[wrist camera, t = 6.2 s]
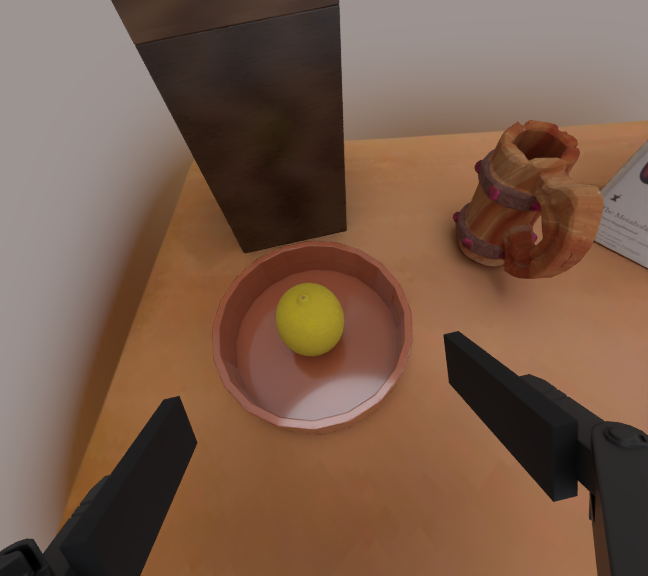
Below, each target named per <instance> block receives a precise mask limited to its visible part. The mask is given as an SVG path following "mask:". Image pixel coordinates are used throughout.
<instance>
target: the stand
mask: <svg viewBox="0 0 648 576" xmlns="http://www.w3.org/2000/svg"><path fill="white" fill-rule="evenodd" d="M135 46H136V48H137V50H138V52H139V54H140V56H141V58H142V60H143V61H144V64H145V66H146V67H147V69H148V71H149V73H150V75H151V77H152V79H153V81H154V82H155V84H156V86H157V88H158V90H159V92H160V94H161V96H162V98H163V100H164V102H165V103H166V105H167V107H168V109H169V111H170V113H171V115H172V117H173V119H174V121H175V123H176V124H177V126H178V128H179V130H180V132H181V134H182V136H183V138H184V140H185V142H186V143H187V145H188V147H189V149H190V151H191V153H192V155H193V157H194V159H195V161H196V163H197V164H198V166H199V168H200V170H201V172H202V174H203V176H204V178H205V180H206V182H207V183H208V185H209V187H210V189H211V191H212V193H213V195H214V197H215V199H216V201H217V203H218V204H219V206H220V208H221V210H222V212H223V214H224V216H225V218H226V220H227V222H228V223H229V225H230V227H231V229H232V231H233V233H234V235H235V237H236V239H237V241H238V242H239V244H240V246H241V248H242V250H243V252H244V253H247V252H252V251H256V250H261V249H265V248H270V247H274V246H279V245H283V244H288V243H292V242H297V241H301V240H306V239H310V238H315V237H319V236H324V235H328V234H333V233H337V232H342V231H346V230H347V226H346V194H345V163H344V133H343V101H342V71H341V39H340V8H339V4H337V5H332V6H327V7H322V8H317V9H312V10H307V11H302V12H297V13H292V14H287V15H282V16H277V17H272V18H267V19H262V20H257V21H252V22H247V23H242V24H237V25H232V26H227V27H222V28H217V29H211V30H206V31H201V32H196V33H191V34H186V35H181V36H176V37H171V38H166V39H161V40H156V41H151V42H146V43H141V44H136V45H135Z"/></svg>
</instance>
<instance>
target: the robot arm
mask: <svg viewBox="0 0 648 576" xmlns="http://www.w3.org/2000/svg"><path fill="white" fill-rule="evenodd" d="M444 343H445V352H446V361H447V369H448V378H449V384H450V385H451V386H452V387H453V388H454V389H455V390H456V391H457V393H458V394H459V395H460V396H461V397H462V398H463V399H464V401H465V402H466V403H467V404H468V405H469V406H470V407H471V409H472V410H473V411H474V412H475V413H476V414H477V415H478V416H479V418H480V419H481V420H482V421H483V422H484V423H485V424H486V426H487V427H488V428H489V429H490V430H491V431H492V432H493V434H494V435H495V436H496V437H497V438H498V439H499V440H500V442H501V443H502V444H503V445H504V446H505V447H506V448H507V449H508V451H509V452H510V453H511V454H512V455H513V456H514V457H515V459H516V460H517V461H518V462H519V463H520V464H521V465H522V467H523V468H524V469H525V470H526V471H527V472H528V473H529V474H530V476H531V477H532V478H533V479H534V480H535V481H536V482H537V484H538V485H539V486H540V487H541V488H542V489H543V490H544V492H545V493H546V494H547V495H548V496H549V497H550V498H551V500H552V501H553V502H555V501H559V500H563V499H567V498H571V497H575V496H577V492H578V481H579V482H580V483H581V484H582V485H583V486H584V487H586V488H587V489H588V490H589V491H590V502H589V519H590V520H592V528H593V537H594V546H595V556H596V565H597V574H598V576H648V435H647V434H645V433H644V432H643V431H641V430H639V429H637V428H635V427H632V426H630V425H626V424H623V423H619V422H610V421H604V420H602V419H601V418H599V417H598V416H596V415H595V414H593V413H592V412H590V411H589V410H588V409H586V408H585V407H583V406H582V405H580V404H579V403H577V402H576V401H574V400H573V399H571V398H570V397H567V396H566V394H564V393H563V392H561V391H560V390H557V389H556V388H555V387H554V386H552V385H551V384H550V383H548V382H547V381H545V380H543V379H541V378H538V377H535V376H533V375H530V374H528V375H523V376H518V375H517V374H515V373H514V372H513V371H511V370H510V369H509V368H507V367H506V366H504V365H503V364H502V363H500V362H499V361H498V360H496V359H495V358H494V357H492V356H491V355H490V354H488V353H487V352H486V351H484V350H483V349H482V348H480V347H479V346H478V345H476V344H475V343H474V342H472V341H471V340H470V339H468V338H467V337H466V336H464V335H463V334H462V333H460V332H459V331H457V332H452V333H448V334H444ZM196 445H197V440H196V438H195V435H194V433H193V430H192V427H191V425H190V422H189V419H188V417H187V414H186V412H185V409H184V406H183V404H182V401H181V399H180V396H177V397H173V398H169V399H164V400H163V401H162V403H161V404H160V406H159V407H158V408H157V410H156V411H155V413H154V414H153V415H152V417H151V418H150V420H149V421H148V422H147V424H146V425H145V427H144V428H143V430H142V431H141V432H140V434H139V435H138V437H137V438H136V439H135V441H134V442H133V444H132V445H131V446H130V448H129V449H128V451H127V452H126V453H125V455H124V456H123V458H122V459H121V461H120V462H119V463H118V465H117V466H116V468H115V469H114V470H113V472H112V473H111V475H108V476H105V477H104V478H103V479H102V480H100V481H99V482H98V483H97V484H96V485H95V486H94V487H93V488H92V489H91V490H90V491H89V492H88V494H87V495H86V497H85V498H84V499H83V501H82V502H81V503H80V506H78V507H77V509H76V510H75V511H74V513H73V514H72V517H71V518H69V519H68V521H67V522H66V523H65V525H64V526H63V528H62V529H61V530H60V532H59V533H58V534H57V536H56V537H55V538H54V540H53V541H52V542H51V544H50V545H49V546H48V548H47V549H46V550H45V552H44V553H43V554H42V552H41V551H40V549H39V547H38V546H37V544H36V542H35V541H34V539H24V540H21V541H18V542H16V543H14V544H12V545H10V546H8V547H6V548H5V549H3V550H2V551H1V552H0V576H140V575H141V572H142V570H143V568H144V565H145V563H146V561H147V558H148V556H149V554H150V552H151V549H152V547H153V545H154V542H155V540H156V538H157V535H158V533H159V531H160V528H161V526H162V524H163V521H164V519H165V517H166V514H167V512H168V510H169V508H170V505H171V503H172V501H173V498H174V496H175V494H176V491H177V489H178V487H179V484H180V482H181V480H182V477H183V475H184V473H185V470H186V468H187V466H188V464H189V461H190V459H191V457H192V454H193V452H194V450H195V447H196Z"/></svg>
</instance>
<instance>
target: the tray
mask: <svg viewBox="0 0 648 576" xmlns="http://www.w3.org/2000/svg"><path fill="white" fill-rule="evenodd" d="M111 1H112V3H113V5H114V7H115V9H116V10H117V12H118V14H119V16H120V18H121V20H122V22H123V24H124V26H125V28H126V29H127V31H128V33H129V35H130V37H131V39H132V41H133V43H134V44H135V45H136V44H141V43H146V42H151V41H156V40H161V39H166V38H171V37H176V36H181V35H186V34H191V33H196V32H201V31H206V30H211V29H217V28H222V27H227V26H232V25H237V24H242V23H247V22H252V21H257V20H262V19H267V18H272V17H277V16H282V15H287V14H292V13H297V12H302V11H307V10H312V9H317V8H322V7H327V6H332V5H337V4H339V0H111Z"/></svg>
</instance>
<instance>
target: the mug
mask: <svg viewBox="0 0 648 576" xmlns="http://www.w3.org/2000/svg"><path fill="white" fill-rule="evenodd" d="M577 145H578V143H577V140H576V139H575V138H574V137H573V136H571V135H569V134H567V132H560V131H559V130H558V126H557V125H555V124H551V123H547V122H540V121H532V120H530V121H528V122H526V123H525V125H523V126H522V125H521V124H520V123H519V122H517V123H515V124H514V125H512V126H511V127H509V128H508V129H507V130H506V131H505V132H504V133H503V135H502V136H501V138H500V140H499V142H498V144H497V146H496V148H495V149H494V150H492V151H491V152H490V153H489V154H488V155H487V156H486V157H485V158H484V159H483V160H480V161H478V162H477V163H476V165H475V171H476V172H477V173H478V179H479V184H478V186H477V189H476V191H475V194H474V196H473V198H472V201H471V202H470V203H468V204H467V205H465V206H464V207H463V209H462V210H461V211H460V212H456V213H455V214H454V216H453V219H454V221H455V222H456V232H457V235H458V237H459V241H458V243H459V246H460V248H461V250H462V251H463V253H464V254H465V255H466V256H467V257H469V258H470V259H473V260H475V261H476V262H478V263H481V264H483V265H486V266H499V265H504V271H506V272H507V273H509V274H510V275H512V276H515V277H517V278H525V279H535V278H549V277H554V276H556V275H558V274H561V273H563V272H565V271H567V270H569V269H570V268H572V267H573V266H574V265H575V264H577V263H578V262H579V261H580V260H581V259H582V258H583V256H584V255H585V254H586V253H587V252H588V250H589V249H590V247H591V245H592V243H593V242H594V240H595V238H596V236H597V232H598V229H599V225H600V222H601V217H602V213H603V208H604V203H603V196H602V193H601V191H600V190H599V189H598V187H597V186H594V185H587V184H576V183H575V182H573V181H572V180H571V179H570V177H569V175H568V173H569V171H570V170H571V168H572V167H573V165H574V164H575V162H576V161H577V159H578V157H579V154H580V151H579V149H578V148H576V147H577ZM540 215H541V218H542V233H543V239H542V241H540V242H539V243H538V244H537V245H535V244H534V242H535V241H536V240H537V235H536V234H535V233H533V228H532V226H533V225H534V223H535V222H536V220H537V219H538V218H539V216H540Z"/></svg>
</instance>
